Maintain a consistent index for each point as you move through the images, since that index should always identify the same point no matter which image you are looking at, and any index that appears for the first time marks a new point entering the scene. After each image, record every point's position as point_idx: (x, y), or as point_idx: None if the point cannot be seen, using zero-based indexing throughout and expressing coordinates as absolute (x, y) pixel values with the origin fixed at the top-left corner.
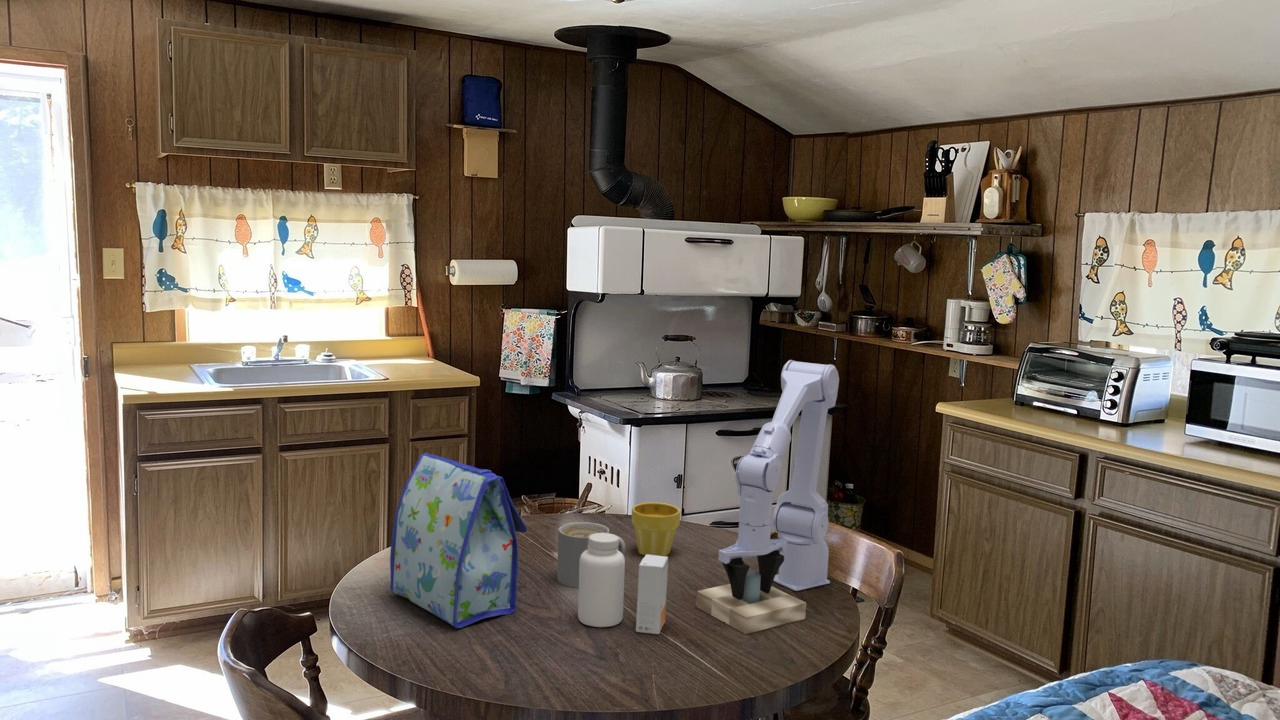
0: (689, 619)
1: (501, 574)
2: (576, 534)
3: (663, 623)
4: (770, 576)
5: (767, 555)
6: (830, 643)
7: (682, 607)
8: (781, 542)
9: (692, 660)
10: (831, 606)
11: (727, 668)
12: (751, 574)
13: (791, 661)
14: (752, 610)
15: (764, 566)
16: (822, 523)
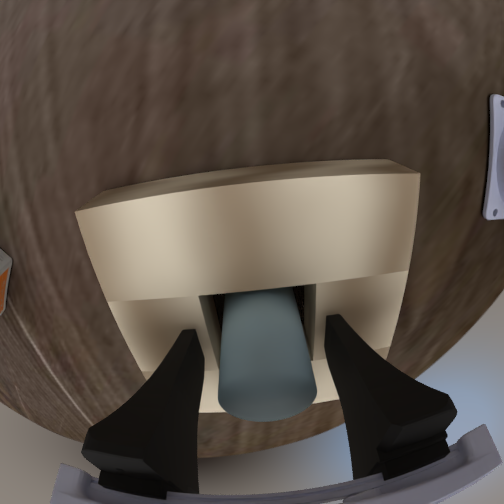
0: (63, 268)
1: None
2: None
3: (7, 277)
4: (342, 407)
5: (368, 471)
6: (308, 427)
7: (64, 180)
8: (444, 499)
9: (57, 391)
10: (460, 317)
11: None
12: (275, 396)
13: (203, 442)
14: (202, 397)
15: (357, 412)
16: None
